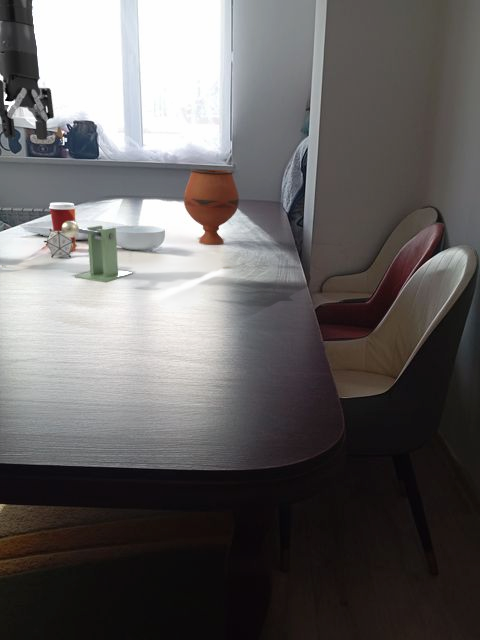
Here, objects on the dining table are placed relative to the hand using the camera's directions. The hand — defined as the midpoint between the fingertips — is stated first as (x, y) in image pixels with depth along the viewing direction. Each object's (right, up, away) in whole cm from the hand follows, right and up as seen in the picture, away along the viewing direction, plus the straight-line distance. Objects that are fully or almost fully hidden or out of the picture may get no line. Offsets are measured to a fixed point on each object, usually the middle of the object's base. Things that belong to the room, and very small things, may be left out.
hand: (26, 138), depth 109 cm
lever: (+9, -19, +11) cm, 24 cm away
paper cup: (-12, -14, +52) cm, 55 cm away
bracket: (+10, -27, +20) cm, 35 cm away
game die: (-9, -18, +42) cm, 46 cm away
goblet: (+31, -6, +78) cm, 84 cm away
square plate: (-17, -3, +78) cm, 80 cm away
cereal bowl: (+10, -13, +57) cm, 59 cm away
